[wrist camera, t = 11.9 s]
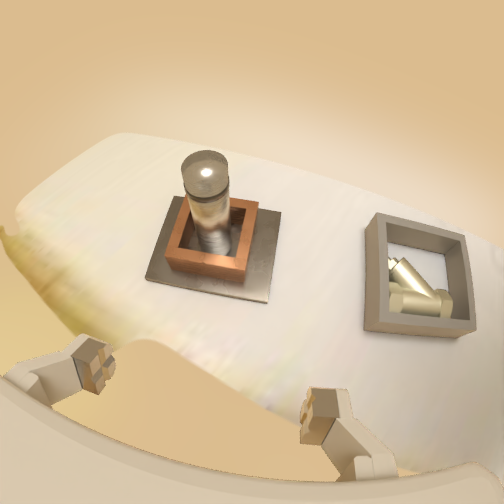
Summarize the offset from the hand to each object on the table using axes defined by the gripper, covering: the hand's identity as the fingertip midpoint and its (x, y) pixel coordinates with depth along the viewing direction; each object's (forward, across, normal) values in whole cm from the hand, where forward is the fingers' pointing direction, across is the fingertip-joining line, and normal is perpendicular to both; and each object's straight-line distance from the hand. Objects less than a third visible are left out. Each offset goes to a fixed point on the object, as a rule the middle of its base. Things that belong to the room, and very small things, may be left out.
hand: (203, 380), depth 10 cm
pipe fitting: (+19, -17, +3) cm, 25 cm away
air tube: (+19, +4, +1) cm, 19 cm away
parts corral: (+20, -18, +2) cm, 27 cm away
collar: (+19, +4, +1) cm, 20 cm away
